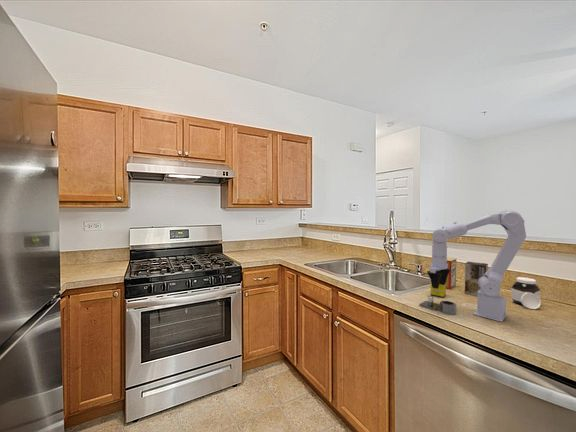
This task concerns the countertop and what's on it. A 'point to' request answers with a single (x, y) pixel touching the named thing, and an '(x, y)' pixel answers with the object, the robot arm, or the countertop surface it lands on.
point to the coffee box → (474, 276)
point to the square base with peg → (430, 304)
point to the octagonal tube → (448, 307)
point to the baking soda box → (451, 273)
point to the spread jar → (526, 293)
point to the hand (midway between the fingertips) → (438, 286)
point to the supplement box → (439, 291)
